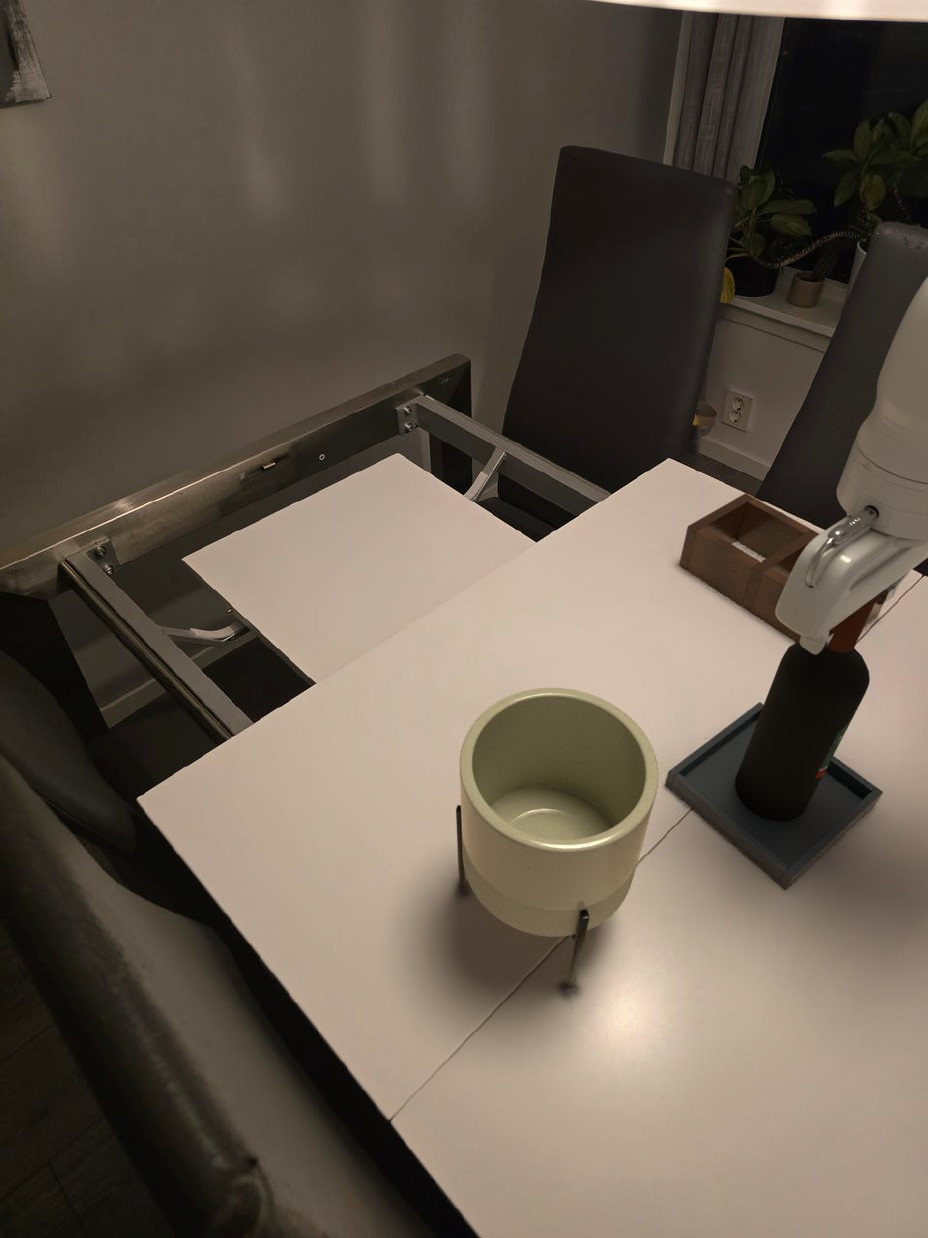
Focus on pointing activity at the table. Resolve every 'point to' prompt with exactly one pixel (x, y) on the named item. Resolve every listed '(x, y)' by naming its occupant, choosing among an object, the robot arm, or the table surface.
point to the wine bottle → (803, 722)
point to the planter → (553, 811)
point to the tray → (766, 841)
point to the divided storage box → (738, 570)
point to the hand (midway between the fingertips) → (846, 621)
